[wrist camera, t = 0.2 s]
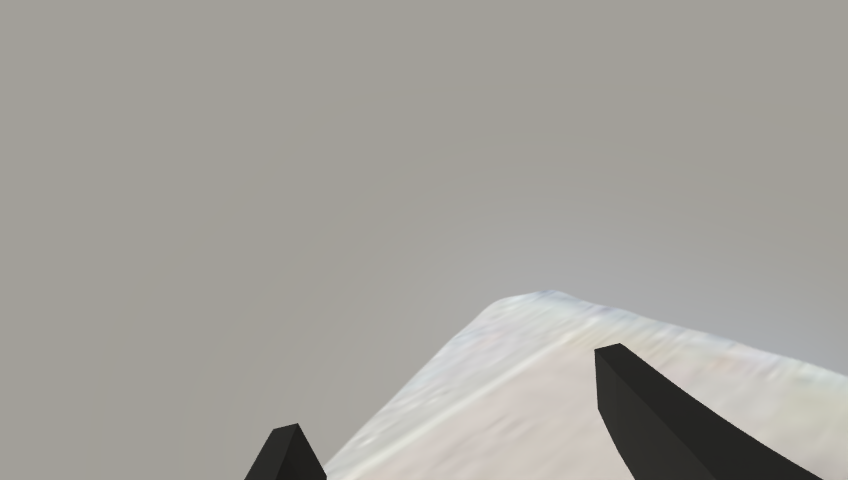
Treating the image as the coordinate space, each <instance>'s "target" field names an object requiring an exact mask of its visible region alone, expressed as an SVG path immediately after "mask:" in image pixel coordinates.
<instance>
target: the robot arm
mask: <svg viewBox="0 0 848 480" xmlns="http://www.w3.org/2000/svg"><path fill="white" fill-rule="evenodd" d="M594 351H595V367H596V384H597V400H598V410H599V412H600V414H601V416H602V419H603V421H604V423H605V425H606V427H607V429H608V431H609V434H610V436H611V438H612V440H613V442H614V444H615V446H616V448H617V450H618V452H619V454H620V455H621V457H622V459H623V460H624V462H625V464H626V465H627V467H628V469H629V470H630V472H631V474H632V475H633V477H634V479H635V480H823V479H821V478H819V477H818V476H816V475H814V474H812V473H811V472H809V471H807V470H805V469H804V468H802V467H800V466H798V465H797V464H795V463H793V462H792V461H790V460H788V459H787V458H785V457H783V456H781V455H780V454H778V453H777V452H775V451H773V450H772V449H770V448H768V447H767V446H765V445H764V444H762V443H760V442H759V441H757V440H756V439H754V438H753V437H751V436H750V435H748V434H746V433H745V432H743V431H742V430H740V429H739V428H737V427H735V426H734V425H732V424H731V423H730V422H728V421H727V420H725V419H724V418H722V417H721V416H719V415H718V414H716V413H715V412H713V411H712V410H710V409H709V408H708V407H706V406H705V405H703V404H702V403H700V402H699V401H698V400H696V399H695V398H693V397H692V396H690V395H689V394H688V393H686V392H685V391H683V390H682V389H681V388H679V387H678V386H677V385H675V384H674V383H672V382H671V381H670V380H668V379H667V378H666V377H664V376H663V375H662V374H660V373H659V372H658V371H656V370H655V369H654V368H653V367H651V366H650V365H649V364H647V363H646V362H645V361H643V360H642V359H641V358H640V357H638V356H637V355H636V354H634V353H633V352H632V351H631V350H629V349H628V348H627V347H625V346H624V345H622V344H621V343H618V344H614V345H610V346H606V347H602V348H598V349H594ZM244 480H327V476H326V474H325V472H324V470H323V468H322V466H321V465H320V463H319V461H318V459H317V457H316V455H315V454H314V452H313V450H312V448H311V446H310V445H309V443H308V441H307V439H306V437H305V435H304V434H303V432H302V430H301V428H300V426H299V424H298V423H297V424H293V425H289V426H285V427H281V428H277V429H273V431H272V433H271V434H270V436H269V437H268V439H267V441H266V442H265V444H264V446H263V448H262V449H261V451H260V453H259V455H258V456H257V458H256V460H255V462H254V464H253V465H252V467H251V469H250V471H249V472H248V474H247V476H246V478H245V479H244Z"/></svg>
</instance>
